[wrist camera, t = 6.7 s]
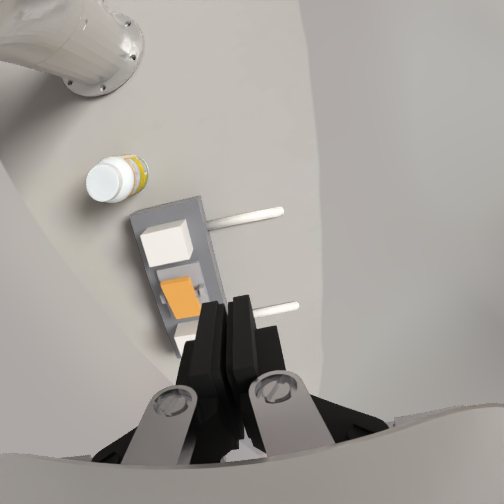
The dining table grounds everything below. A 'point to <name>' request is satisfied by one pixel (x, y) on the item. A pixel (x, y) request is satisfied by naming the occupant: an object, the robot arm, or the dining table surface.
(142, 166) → the supplement bottle
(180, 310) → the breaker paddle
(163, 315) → the power strip
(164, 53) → the dining table surface
